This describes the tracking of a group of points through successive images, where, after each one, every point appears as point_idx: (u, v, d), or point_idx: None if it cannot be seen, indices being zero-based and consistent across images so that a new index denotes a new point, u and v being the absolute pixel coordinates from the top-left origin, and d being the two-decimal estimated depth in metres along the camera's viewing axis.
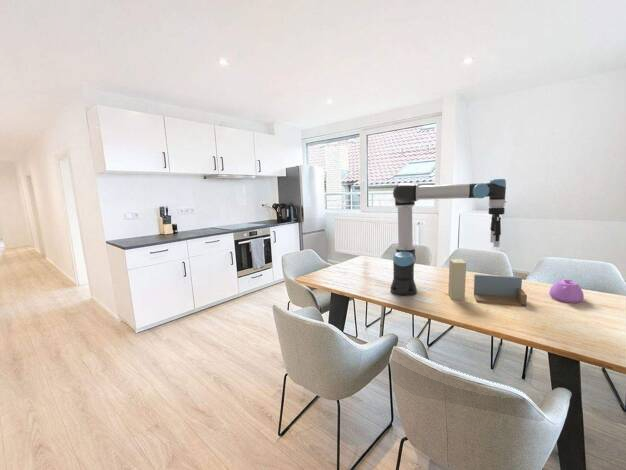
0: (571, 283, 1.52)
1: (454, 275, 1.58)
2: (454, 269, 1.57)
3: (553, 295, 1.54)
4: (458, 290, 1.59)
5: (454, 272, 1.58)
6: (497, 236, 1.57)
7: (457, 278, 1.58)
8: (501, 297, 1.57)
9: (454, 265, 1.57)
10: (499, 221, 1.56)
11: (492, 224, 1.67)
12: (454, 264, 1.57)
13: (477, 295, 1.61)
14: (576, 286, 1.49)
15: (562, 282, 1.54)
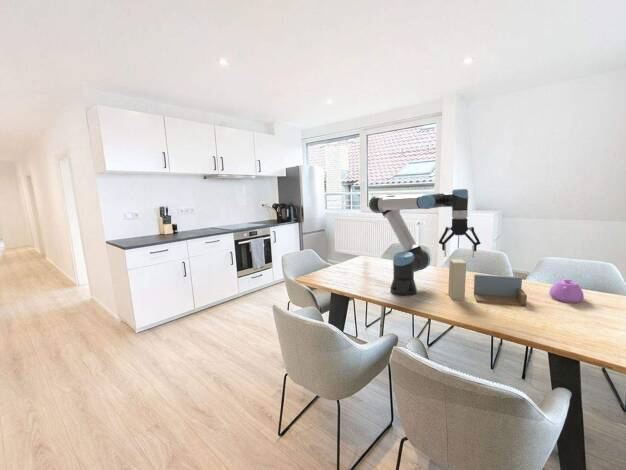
0: (571, 283, 1.52)
1: (454, 275, 1.58)
2: (454, 269, 1.57)
3: (553, 295, 1.54)
4: (458, 290, 1.59)
5: (454, 272, 1.58)
6: (442, 245, 1.62)
7: (457, 278, 1.58)
8: (501, 297, 1.57)
9: (454, 265, 1.57)
10: None
11: None
12: (454, 264, 1.57)
13: (477, 295, 1.61)
14: (576, 286, 1.49)
15: (562, 282, 1.54)
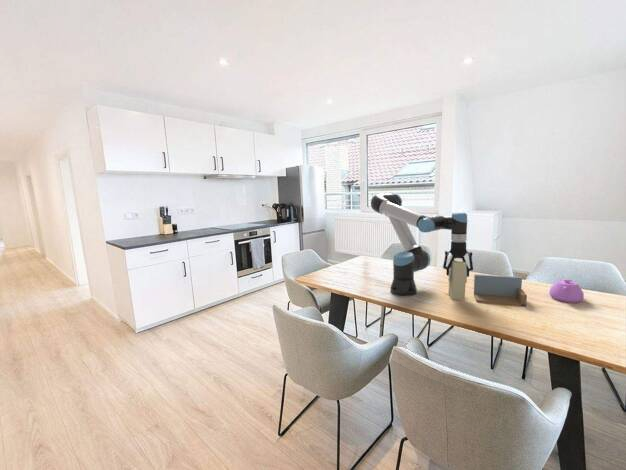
0: (571, 283, 1.52)
1: (454, 275, 1.58)
2: (454, 269, 1.57)
3: (553, 295, 1.54)
4: (458, 290, 1.59)
5: (454, 272, 1.58)
6: None
7: (458, 278, 1.58)
8: (501, 297, 1.57)
9: (454, 265, 1.57)
10: (445, 256, 1.62)
11: None
12: (454, 264, 1.57)
13: (477, 295, 1.61)
14: (576, 286, 1.49)
15: (562, 282, 1.54)
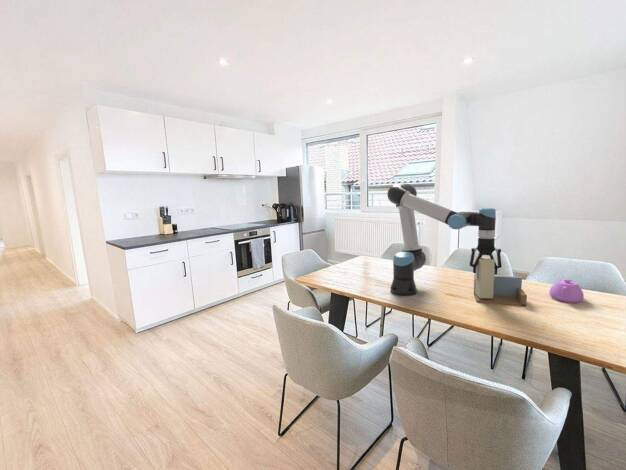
0: (571, 283, 1.52)
1: (482, 273, 1.53)
2: (482, 267, 1.52)
3: (553, 295, 1.54)
4: (486, 288, 1.54)
5: (482, 270, 1.53)
6: (473, 268, 1.58)
7: (485, 276, 1.53)
8: (501, 297, 1.57)
9: (482, 262, 1.52)
10: (472, 253, 1.56)
11: (490, 257, 1.55)
12: (482, 261, 1.52)
13: None
14: (576, 286, 1.49)
15: (562, 282, 1.54)
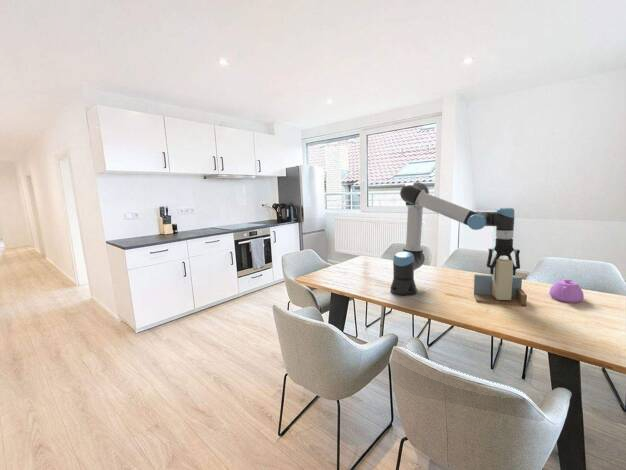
0: (571, 283, 1.52)
1: (500, 274, 1.50)
2: (500, 267, 1.49)
3: (553, 295, 1.54)
4: (504, 289, 1.50)
5: (500, 271, 1.49)
6: (490, 269, 1.55)
7: (503, 277, 1.50)
8: None
9: (500, 263, 1.49)
10: (489, 253, 1.53)
11: (508, 258, 1.52)
12: (500, 262, 1.49)
13: (477, 295, 1.61)
14: (576, 286, 1.49)
15: (562, 282, 1.54)
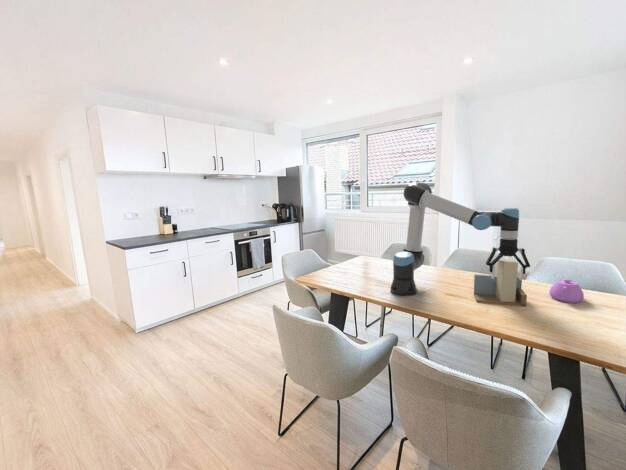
0: (571, 283, 1.52)
1: (504, 276, 1.49)
2: (504, 269, 1.49)
3: (553, 295, 1.54)
4: (508, 291, 1.50)
5: (504, 273, 1.49)
6: None
7: (508, 279, 1.49)
8: None
9: (504, 265, 1.48)
10: (492, 252, 1.53)
11: None
12: (505, 264, 1.48)
13: (477, 295, 1.61)
14: (576, 286, 1.49)
15: (562, 282, 1.54)
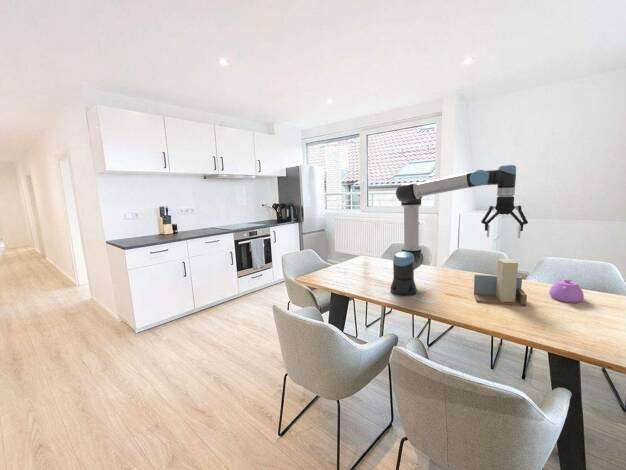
0: (571, 283, 1.52)
1: (504, 276, 1.49)
2: (504, 269, 1.49)
3: (553, 295, 1.54)
4: (508, 291, 1.50)
5: (504, 273, 1.49)
6: (485, 225, 1.54)
7: (508, 279, 1.49)
8: None
9: (504, 265, 1.48)
10: (488, 210, 1.52)
11: None
12: (505, 264, 1.48)
13: (477, 295, 1.61)
14: (576, 286, 1.49)
15: (562, 282, 1.54)
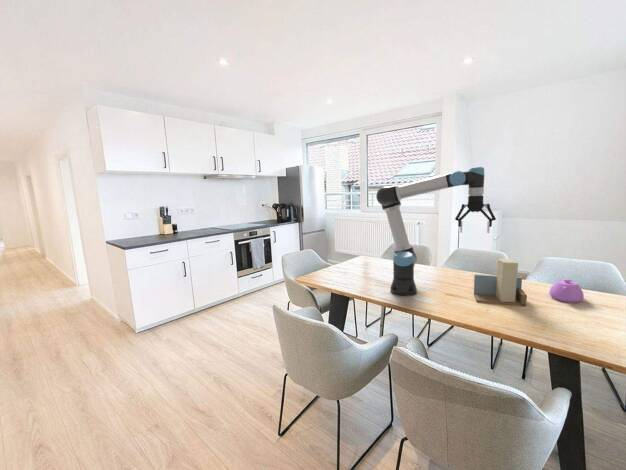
0: (571, 283, 1.52)
1: (504, 276, 1.49)
2: (504, 269, 1.49)
3: (553, 295, 1.54)
4: (508, 291, 1.50)
5: (504, 273, 1.49)
6: (458, 222, 1.70)
7: (508, 279, 1.49)
8: None
9: (504, 265, 1.48)
10: (461, 208, 1.67)
11: None
12: (505, 264, 1.48)
13: (477, 295, 1.61)
14: (576, 286, 1.49)
15: (562, 282, 1.54)
